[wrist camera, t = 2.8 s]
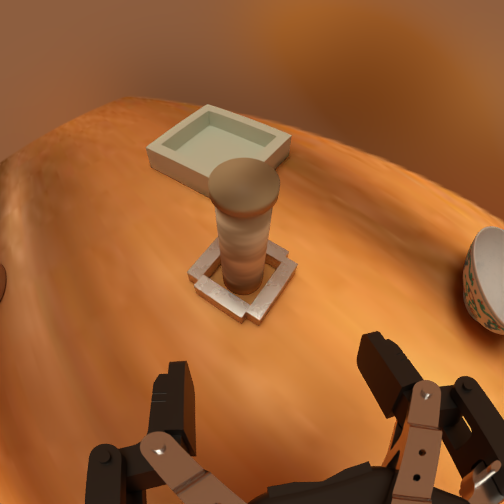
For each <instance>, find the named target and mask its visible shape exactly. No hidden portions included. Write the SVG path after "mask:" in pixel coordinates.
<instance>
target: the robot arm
mask: <svg viewBox="0 0 504 504" xmlns="http://www.w3.org/2000/svg"><path fill="white" fill-rule="evenodd" d="M5 284H6V273H5V270H4V267H3V266H2V265H1V264H0V300H1V298H2V296H3V293H4V289H5ZM357 366H358V369H359V371H360V372H361V374H362V376H363V378H364V379H365V381H366V383H367V385H368V386H369V388H370V390H371V392H372V393H373V395H374V397H375V399H376V401H377V402H378V404H379V406H380V408H381V410H382V411H383V413H384V415H385V417H386V419H388V418H390V417H393V416H395V417H396V419H397V420H396V422H395V426H394V430H393V434H392V437H391V441H390V445H389V448H388V452H387V455H386V457H385V459H384V461H383V463H382V466H370V463H369V461H368V462H365V463H362V464H360V465H357V466H353V467H350V468H347V469H345V470H343V471H341V472H339V473H338V474H336V475H334V476H332V477H330V478H328V479H327V480H325V481H322V482H293V483H288V484H282V485H277V486H271V487H267V489H268V492H267V493H264V494H262V495H260V496H258V497H256V498H254V499H253V500H251V501H250V502H249V503H248V504H500V503H502V502H503V501H504V420H503V418H502V417H501V415H500V414H499V412H498V411H497V409H496V408H495V407H494V405H493V404H492V402H491V401H490V399H489V398H488V397H487V395H486V394H485V392H484V391H483V390H482V388H481V387H480V386H479V384H478V383H477V382H476V380H474V379H473V378H471V377H468V376H462V377H460V378H458V379H457V380H456V382H455V384H454V385H450V386H441V387H439V386H438V385H437V384H436V383H434V382H432V381H429V380H423V378H422V377H421V376H420V374H419V373H418V371H417V370H416V369H415V367H414V366H413V365H412V363H411V362H410V361H409V359H407V357H406V355H405V354H404V353H403V351H402V350H401V349H400V347H399V346H398V345H397V344H396V343H394V342H393V341H391V340H390V339H387V340H385V339H384V337H383V336H382V335H381V333H380V332H378V331H376V332H372V333H368V334H363V335H362V338H361V342H360V346H359V351H358V355H357ZM152 393H153V395H152V400H151V401H152V402H151V409H150V418H149V427H148V433H147V435H146V436H145V437H144V438H143V439H142V441H141V442H139V443H138V444H136V445H133V446H129V447H125V448H120V449H117V448H116V447H115V446H113V445H110V444H101V445H98V446H96V447H95V448H94V449H93V450H92V451H91V453H90V456H89V463H88V471H87V481H86V493H85V504H147V501H146V489H149V488H153V487H157V486H161V485H165V484H167V485H168V486H169V487H170V488H171V489H172V490H173V491H174V493H175V494H176V495H177V496H178V497H179V498H180V499H181V500H182V501H183V502H184V503H185V504H247V503H246V502H244V501H243V500H242V499H241V498H239V497H238V496H237V495H236V494H235V493H233V492H232V491H231V490H230V489H229V488H227V487H226V486H225V485H224V484H223V483H222V482H221V481H219V480H218V479H217V478H216V477H215V476H214V475H213V474H211V473H210V472H209V471H206V470H204V469H203V468H202V467H201V466H200V465H199V464H198V463H197V462H196V461H195V460H194V459H193V458H192V457H191V456H196V433H195V392H194V385H193V381H192V378H191V374H190V371H189V367H188V363H187V361H177V362H170V363H169V370H168V374H159V376H158V377H157V379H156V380H155V382H154V385H153V392H152ZM462 416H464V418H465V419H466V421H467V423H468V424H469V426H470V428H471V430H472V433H471V431H470V429H469V427H468V426H467V424H466V423H465V421H464V419H463V418H462ZM441 440H443V442H444V444H445V446H446V448H447V450H448V452H449V454H450V456H451V457H452V459H453V461H454V463H455V465H456V467H457V469H458V471H459V473H460V475H461V477H462V481H461V486H460V488H461V489H460V490H459V494H460V496H462V497H459V496H456V495H453V494H451V493H448V492H445V491H443V490H440V489H438V488H435V487H433V486H434V481H435V476H436V471H437V466H438V460H439V454H440V447H441Z"/></svg>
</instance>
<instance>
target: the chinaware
mask: <svg viewBox="0 0 504 504" xmlns="http://www.w3.org/2000/svg"><path fill="white" fill-rule="evenodd" d="M463 288H464V291H463V298H464V303H465V306H466V309H467V311H468V312H469V314H470V315H471V317H472V318H473V319H475V320H476V321H478V322H479V323H480V324H481V325H482V326H484V327H485V328H486V329H488V330H490V331H492V332H494V333H497V334H501V335H504V230H503V229H500V228H498V227H492V226H490V227H485V228H483V229H482V230H481V231H480V232H479V233H478V234H477V236H476V237H475V239H474V241H473V242H472V244H471V246H470V249H469V251H468V254H467V257H466V260H465V264H464V270H463Z"/></svg>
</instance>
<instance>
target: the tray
mask: <svg viewBox="0 0 504 504" xmlns="http://www.w3.org/2000/svg"><path fill="white" fill-rule="evenodd" d="M291 137H292V135H289V134H287V133H285V132H282V131H280V130H277V129H275V128H272V127H270V126H267V125H265V124H262V123H260V122H257V121H254V120H252V119H249V118H246V117H244V116H241V115H238V114H235V113H232V112H230V111H227V110H224V109H221V108H218V107H215V106H211V105H208V104H207V105H205V106H204V107H202V108H201V109H199V110H198V111H196V112H195V113H193V114H192V115H190V116H189V117H187V118H186V119H184V120H183V121H181V122H180V123H178V124H177V125H176V126H174V127H173V128H171V129H170V130H169V131H167V132H166V133H164V134H163V135H162V136H160V137H159V138H158V139H156V140H155V141H154V142H152V143H151V144H150V145H148V146H147V147H146V150H147V154H148V158H149V161H150V165H151V167H152V168H154V169H156V170H158V171H160V172H162V173H163V174H165V175H167V176H169V177H171V178H173V179H175V180H177V181H179V182H181V183H182V184H184V185H186V186H188V187H190V188H192V189H194V190H196V191H198V192H199V193H201V194H203V195H205V196H207V197H209V198H210V195H209V186H208V180H209V176H210V174H211V172H212V171H213V170H214V169H215V168H216V167H217V166H218V165H219V164H221V163H223V162H225V161H227V160H230V159H235V158H253V159H257V160H260V161H263V162H265V163H267V164H268V165H270V166H271V167H272V168H273V169H274V170H275V169H276V168H277V167H278V166H279V165H280V164H281V163H282V162H283V161H284V160H285V159H286V158H287V157H288V156H289V149H290V143H291Z"/></svg>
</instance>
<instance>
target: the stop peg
mask: <svg viewBox="0 0 504 504" xmlns="http://www.w3.org/2000/svg"><path fill="white" fill-rule="evenodd" d="M208 186H209V195H210V199H211V201H212V203H213V204H214V206H215V212H216V221H217V230H218V239H219V248H220V257H221V265H222V273H223V280H224V284H225V285H226V287H227V288H228V289H229V290H230V291H231V292H233V293H235V294H239V295H247V294H250V293H253V292H254V291H256V290H257V289H258V288H259V287H260V285H261V283H262V278H263V271H264V264H265V257H266V250H267V243H268V236H269V229H270V222H271V215H272V208H273V206H274V205H275V203H276V201H277V199H278V195H279V188H280V179H279V176H278V174H277V172H276V171H275V170H274V169H273V168H272V167H271V166H270V165H268V164H267V163H265V162H263V161H260V160H257V159H253V158H235V159H230V160H227V161H225V162H223V163H221V164H219V165H218V166H217V167H216V168H215V169H214V170H213V171H212V172H211V174H210V176H209V180H208Z"/></svg>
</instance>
